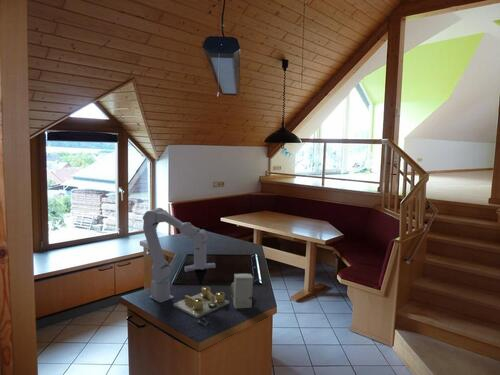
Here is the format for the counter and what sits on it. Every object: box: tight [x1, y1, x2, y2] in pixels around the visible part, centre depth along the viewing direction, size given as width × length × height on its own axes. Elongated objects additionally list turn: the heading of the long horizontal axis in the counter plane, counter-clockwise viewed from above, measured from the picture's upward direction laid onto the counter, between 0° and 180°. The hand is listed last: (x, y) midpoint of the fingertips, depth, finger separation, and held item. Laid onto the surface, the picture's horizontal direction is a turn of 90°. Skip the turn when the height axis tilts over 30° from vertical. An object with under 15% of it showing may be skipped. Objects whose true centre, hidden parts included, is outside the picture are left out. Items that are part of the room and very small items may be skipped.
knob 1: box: [183, 294, 203, 310], centre depth 164 cm, size 11×4×4 cm, turn 49°
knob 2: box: [200, 286, 215, 303], centre depth 172 cm, size 11×4×4 cm, turn 29°
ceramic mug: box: [229, 281, 234, 301], centre depth 177 cm, size 11×8×8 cm
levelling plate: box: [172, 291, 230, 319], centre depth 168 cm, size 17×20×6 cm
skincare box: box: [232, 273, 254, 310], centre depth 168 cm, size 8×6×15 cm
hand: (200, 284), depth 168 cm, fingers closed
